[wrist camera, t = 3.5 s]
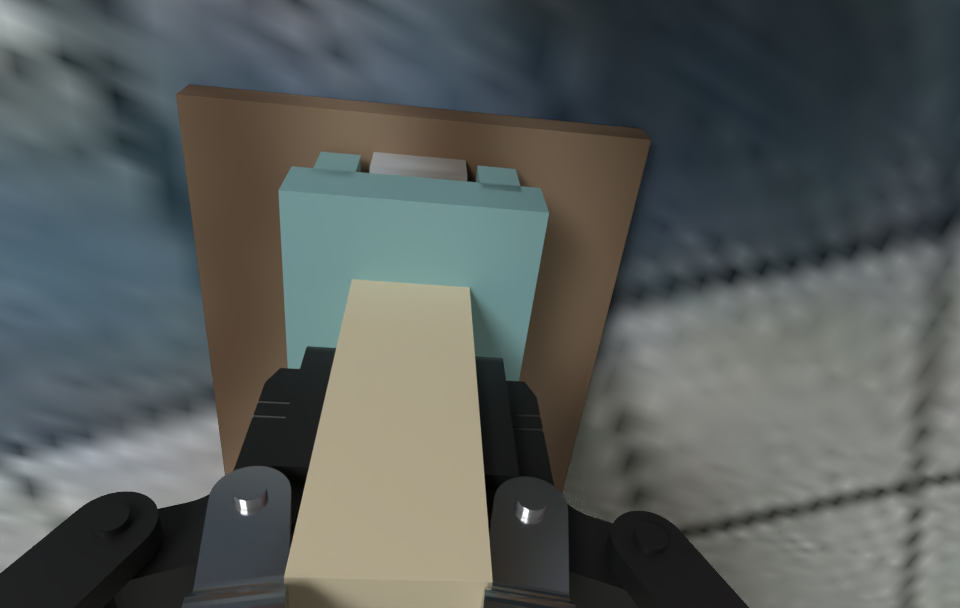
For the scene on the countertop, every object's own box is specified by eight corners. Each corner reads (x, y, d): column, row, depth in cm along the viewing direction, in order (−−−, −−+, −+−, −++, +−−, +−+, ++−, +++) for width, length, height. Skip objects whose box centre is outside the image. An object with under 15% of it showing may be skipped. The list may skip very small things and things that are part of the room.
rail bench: (641, 128, 18) (858, 376, 9) (509, 672, 32) (537, 990, 23) (189, 84, 17) (-126, 318, 7) (258, 670, 31) (179, 1005, 21)
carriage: (534, 170, 17) (642, 478, 8) (492, 427, 22) (531, 805, 13) (301, 149, 16) (130, 457, 7) (309, 419, 21) (212, 810, 12)
